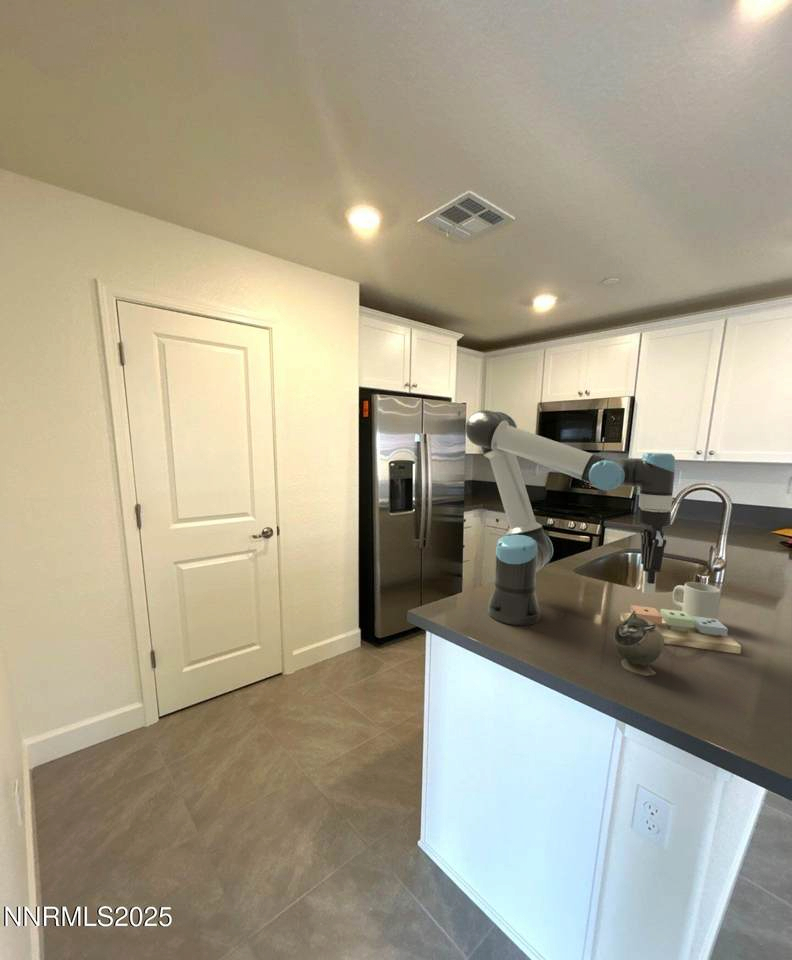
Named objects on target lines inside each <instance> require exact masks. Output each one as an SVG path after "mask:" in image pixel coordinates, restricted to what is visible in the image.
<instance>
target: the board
mask: <svg viewBox="0 0 792 960" xmlns="http://www.w3.org/2000/svg"><path fill="white" fill-rule="evenodd" d="M631 614H632V613H631V612H622V611H621V612H620V620H621V622H622V621H624V620H626V619H628V618H629V617H630V615H631ZM666 624H667V623H666V622H665V621H664V619H663V618H662V624H659V623H654V625H656V626H657V627H658V629H659V630H660V632H661V633H662V635H663V638H664V644H667V645H674V646H681V647H689V648H694V649H696V648H697V649H702V650H709V651H717V652H723V653H733V654H739V655H741V654H742V653H741V652H742V645H741V644H739V643H738V642H737V641H736V640H735V639H734V638H732V636H731V635H729V634H728V633H727V636H723V635H719V636H711V635H703V634H701V633H700V632H699V631H698V630H697V629H696V628H695V627H694V628H691V627H686V632H680V631H673V630H670V629H669V628H668V626H667V625H666Z"/></svg>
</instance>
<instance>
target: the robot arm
mask: <svg viewBox="0 0 792 960" xmlns="http://www.w3.org/2000/svg"><path fill="white" fill-rule="evenodd" d="M465 435H466V437H467V439H468V440H469V441H470V443H472V444H473V445H475V446H478V447H481V451H482V455H483V456H484V457H485V458H487V459H489V462H490V465H491V468H492V472H493V476H494V479H495V482H496V485H497V488H498V492H499V493H498V494H499V496H500V498H501V503H502V506H503V510H504V513H505V515H506V516H505V517H506V520H507V524H508V526H509V527H508V528H509V529H508V531H507V532H506V535H504V536H502V537H500V538H499V539H498V540H497V542H496V549H495V570H494V571H495V572H494V573H495V576H494V578H495V579H494V588H493V590H492V594H491V595H490V598H489V600H488V604H487V613H488V615H489V616H490V617H491V618H492V619H494V620H495V621H498V622H501V623H503V624H509V625H513V626H530V625H534V624H536V623H538V622H539V621H540V618H541V616H540V615H541V610H540V607H539V602H538V599H537V595H536V580H537V578H536V576H537V575H536V574H537V572H538V571H540V570H541V569H542V568H545V567H546V566H547V565H548V564H549V563H550V562H551V559H552V558H553V555H554V546H553V543H552V540H551V539H550V537H549V536H548V535H547V534H545V531H544V527H543V524H541V523H539V522H537V521H536V518H535V514H534V511H533V508H532V504H531V501H530V498H529V494H528V492H527V487H526V483H525V480H524V478H523V474H522V471H521V468H520V463H519V461H518V458H517V457H520V458H522V459H525V460H527V461H531V462H533V463H536V464H538V465H541V466H543V467H546V468H549V469H552V470H555V471H557V472H559V473H562V474H565V475H567V476H570V477H573V478H574V479H579V480H580V481H583V482H584V483H585V482H586V483H589V484H591V485H593V487H595V488H596V489H598V490H601V491H611V490H612V491H613V490H615V489H617V488H619V487H632V488H633V487H634V488H637V487H638V488H639V496H638V507H639V508H640V509H638V514H637V522H638V523H639V524H642V525H644V526H643V528H642V529H640V531H639V533H640V564H641V565H642V570H643V573H642V585H641V586H642V587H641V592H642V594H645V595H651V596H653V595H655V594H656V585H657V583H656V581H657V573H660V572H661V568H662V563H663V559H664V558H663V556H664V552H665V547H666V545H667V540H666V539H664V532H663V527H668V526H670V525H671V520H672V512H671V511H670V510H672V504H673V503H672V502H674V501H675V499H674V497H673V494H674V493H673V492H674V481H675V474H676V473H675V472H676V471H675V468H676V458H675V456H674V455H673V454H672V453H667V452H666V453H663V452H661V453H659V452H657V453H656V452H655V453H654V452H646V453H643V454H642V457H641V459H621V458H606V457H602V456H600V455H597V454H594V453H591V452H587V451H585V450H582V449H580V448H576V447H574V446H571V445H568V444H565V443H561V442H559V441H555V440H552V439H551V438H548V437H544V436H541V435H540V434H539V435H538V434H535V433H533V432H529V431H526V430H523V429H521V428H518V426H517V424H516V422H515V419H513V418H512V417H511V416H510V415H508V414H507V413H504V412H501V411H493V410H488V409H487V410H486V409H482V410H478V411H475V412H474V413H472V414H471V415H470V416H469V418H468V419H467V421H466V424H465Z"/></svg>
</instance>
